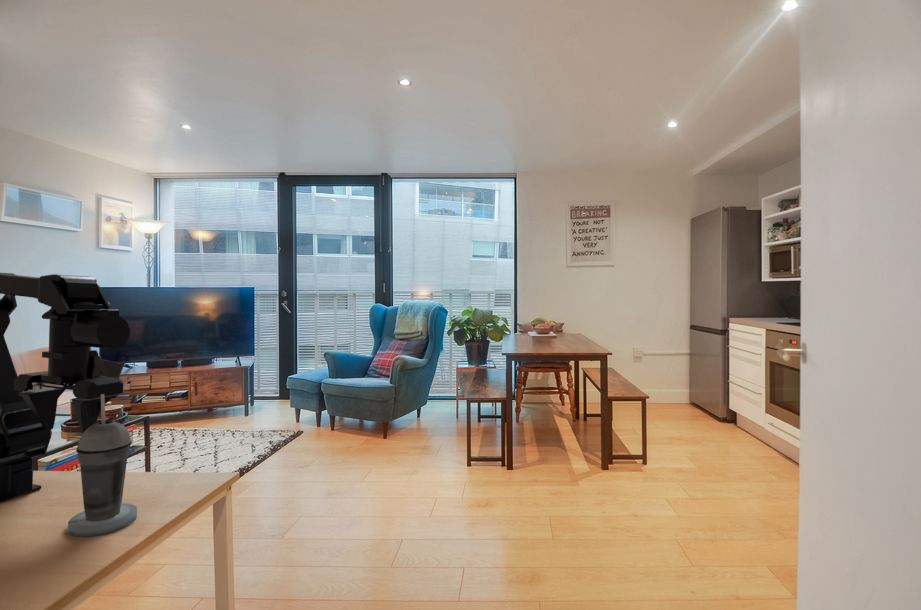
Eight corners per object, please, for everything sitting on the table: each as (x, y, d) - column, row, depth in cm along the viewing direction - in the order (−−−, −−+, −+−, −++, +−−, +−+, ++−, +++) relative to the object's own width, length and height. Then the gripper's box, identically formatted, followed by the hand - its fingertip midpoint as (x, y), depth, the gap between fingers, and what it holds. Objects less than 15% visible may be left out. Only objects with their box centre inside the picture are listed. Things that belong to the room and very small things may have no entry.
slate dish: (53, 531, 72) (53, 523, 72) (110, 506, 80) (110, 499, 80) (95, 540, 69) (96, 532, 69) (149, 514, 78) (150, 507, 78)
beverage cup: (86, 530, 70) (89, 402, 70) (65, 518, 73) (68, 396, 73) (139, 511, 76) (141, 394, 76) (117, 501, 80) (120, 389, 80)
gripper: (152, 344, 86) (150, 426, 86) (80, 339, 91) (77, 416, 91) (91, 350, 75) (88, 443, 75) (12, 343, 80) (9, 431, 80)
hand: (67, 432), depth 80 cm, fingers open, 9 cm apart
